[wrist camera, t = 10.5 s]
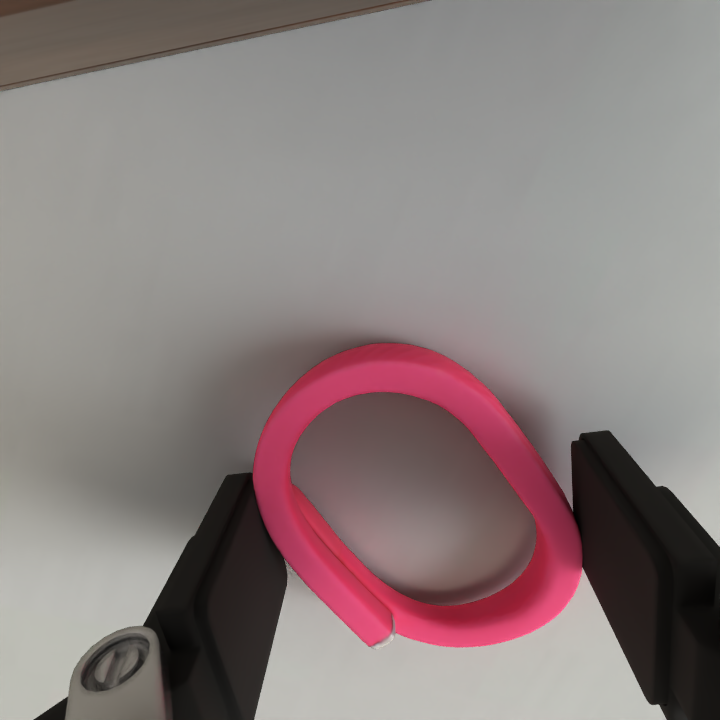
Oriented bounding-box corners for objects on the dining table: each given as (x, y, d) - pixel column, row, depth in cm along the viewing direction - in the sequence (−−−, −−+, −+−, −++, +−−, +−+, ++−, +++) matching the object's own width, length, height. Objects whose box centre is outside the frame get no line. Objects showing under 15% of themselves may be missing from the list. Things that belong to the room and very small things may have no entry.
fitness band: (211, 432, 12) (187, 468, 11) (420, 284, 10) (425, 302, 9) (412, 650, 14) (415, 705, 13) (611, 551, 13) (640, 601, 11)
